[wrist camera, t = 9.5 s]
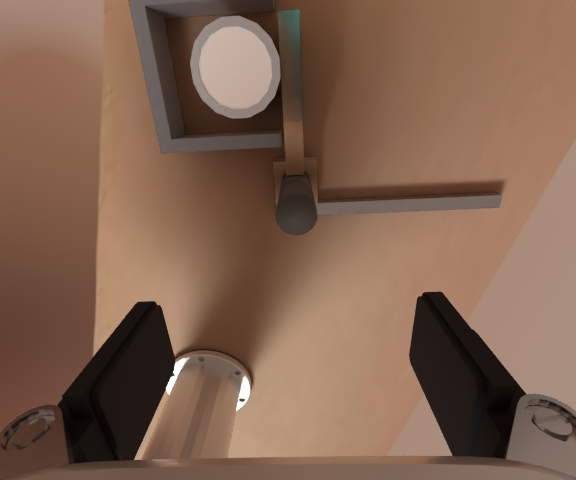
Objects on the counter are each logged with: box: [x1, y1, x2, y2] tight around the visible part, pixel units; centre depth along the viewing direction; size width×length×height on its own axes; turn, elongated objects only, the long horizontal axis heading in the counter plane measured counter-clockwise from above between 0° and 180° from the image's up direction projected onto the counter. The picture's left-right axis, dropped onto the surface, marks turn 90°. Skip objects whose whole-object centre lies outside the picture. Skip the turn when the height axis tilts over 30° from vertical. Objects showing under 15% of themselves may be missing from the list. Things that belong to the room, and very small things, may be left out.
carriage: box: [273, 9, 318, 235], centre depth 25 cm, size 16×4×12 cm, turn 3°
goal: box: [128, 0, 282, 153], centre depth 28 cm, size 12×11×4 cm
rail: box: [276, 192, 502, 216], centre depth 34 cm, size 1×24×1 cm, turn 93°
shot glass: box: [190, 16, 281, 119], centre depth 26 cm, size 7×7×7 cm
